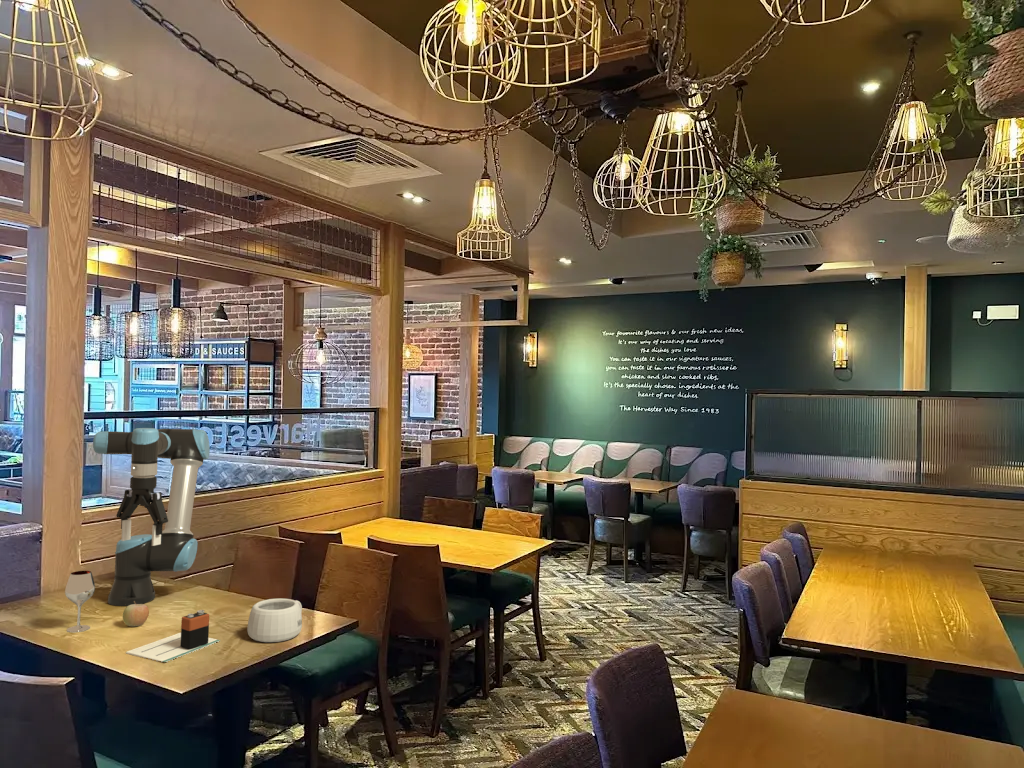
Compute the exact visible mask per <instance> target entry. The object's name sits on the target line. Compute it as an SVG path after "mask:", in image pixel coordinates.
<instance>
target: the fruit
mask: <svg viewBox="0 0 1024 768" xmlns="http://www.w3.org/2000/svg"><path fill="white" fill-rule="evenodd" d="M134 603H135V601H134ZM149 615H150V609H149V607H148V605H146V604H144V603H143V604H136V603H135V604H132V605H129V606H125V608H124V609H123V612H122V621H123V622H124V624H125V625H126V626H128V627H140V626H142V625H144V623H146V621H147V619H148V617H149Z"/></svg>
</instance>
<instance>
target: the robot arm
mask: <svg viewBox="0 0 1024 768" xmlns="http://www.w3.org/2000/svg"><path fill="white" fill-rule="evenodd" d="M210 445H211V444H210V440H209V436H208V433H207V432H206V431H205V430H204V429H195V428H159V429H158V428H156V427H155V428H154V427H140V428H139V427H138V428H134V429H133V431H130V432H129V431H108V430H105V431H98V432H96V433H95V435H94V437H93V439H92V447H93V451H94V453H96V454H98V455H131V459H130V464H131V465H130V476H131V477H130V478H129V479H130V480H129V483H130V484H129V489H124V494H123V497H122V500H121V503H120V506H119V508H118V511H117V513H116V515H115V516H116V518H119V520H121V525H120V526H121V527H120V529H121V536H120V537H121V539H119V540H118V541H117V542H116V546H115V547H116V548H115V552H114V554H115V555H114V556H115V557H114V558H115V559H114V581H113V583H112V586H111V589H110V592H109V594H108V596H107V603H108V605H111V606H115V607H116V606H119V607H120V606H121V607H127V606H129V605H132V604H135V603H136V604H143V605H144V604H147V603H149V602H151V601H154V600H155V598H156V591H155V588H154V584H153V581H152V578H151V577H152V576H151V575H152V572H175V573H177V572H184V571H188V570H189V569H190V568H191V567H192V566H193V564H194V563H195V560H196V557H197V556H196V555H197V553H198V552H197V551H198V545H199V544H198V540H197V539H196V538H194V533H193V532H192V531H191V524H192V517H193V509H194V500H195V495H196V488H197V480H198V479H197V478H198V472H199V468H200V467H201V466H203V464H204V461H205V460H208V459H209V458H210V453H211V452H210V449H211V448H210V447H211V446H210ZM158 458H159V459H170V461H169V462H170V464H171V465H172V466H173V471H172V477H171V485H170V492H169V497H168V498H169V499H168V505H167V512H166V509H165V505H164V502H163V497H162V496H163V494H162V492H155V491H154V490H155V489H156V488H157V483H158V478H157V475H158V460H159V459H158ZM138 506H142V507H144V508H145V509H146V510H147V512H148V514H149V515H150V517H151V520H152V522H153V524H152V528H151V529H152V530H151V531H152V532H151V534H150V533H149V534H147V533H145V534H136V535H132V536H131V534H132V533H131V532H132V517H131V516H132V515H133V513H135V510H136V509H137V508H138ZM163 524H165V525H163ZM163 526H164V529H163ZM134 601H135V603H134Z"/></svg>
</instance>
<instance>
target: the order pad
mask: <svg viewBox="0 0 1024 768" xmlns="http://www.w3.org/2000/svg"><path fill="white" fill-rule="evenodd" d="M219 641H220V642H221V639H216V638H212V637H208V643H207V644H205V645H202V646H199V647H196V648H193V649H186V648H183V647H181V632H178V633H176V634H173V635H170V636H167V637H164V638H161V639H158V640H156V641H153V642H150V643H147V644H144V645H141V646H139V647H136V648H133V649H130V650H128V651H125V654H127V655H130V656H135V657H137V658H138V657H139V658H142V657H143V659H146V658H148V659H147V660H150V659H152V660H151V661H154V660H156V661H155V662H158V661H161V662H160V663H162V662H167V663H169V662H168V661H170V660H172V661H174V660H173V659H175V658H177V659H179V658H178V657H180V658H182V657H184V656H183V655H185V656H187V655H189V653H190V654H192V653H195V652H197V651H200V650H202V649H205V648H207V647H210V646H213V645H214V643H215V644H217V643H216V642H218V643H219ZM212 644H213V645H212ZM209 645H210V646H209ZM204 647H205V648H204ZM199 649H200V650H199ZM196 650H197V651H196ZM194 651H195V652H194ZM191 652H192V653H191ZM186 654H187V655H186ZM181 656H182V657H181ZM175 660H176V659H175ZM170 662H171V661H170Z"/></svg>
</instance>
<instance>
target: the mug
mask: <svg viewBox="0 0 1024 768" xmlns="http://www.w3.org/2000/svg"><path fill="white" fill-rule="evenodd" d="M302 611H303V606H302V603H301V602H300V601H299V600H297V599H296V600H294V599H290V598H269V599H263V600H260V601H258V602H256V603H254V605H252V608H251V609H250V613H249V617H248V621H247V622H248V623H247V629H246V631H247V635H248V636H249V638H251V639H253V641H256V642H260V643H280V642H284V641H288V640H291V639H294V638H295V637H297V636H298V635H299V634H300V633H301V631H302V627H303V617H302V616H303V615H302Z"/></svg>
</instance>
